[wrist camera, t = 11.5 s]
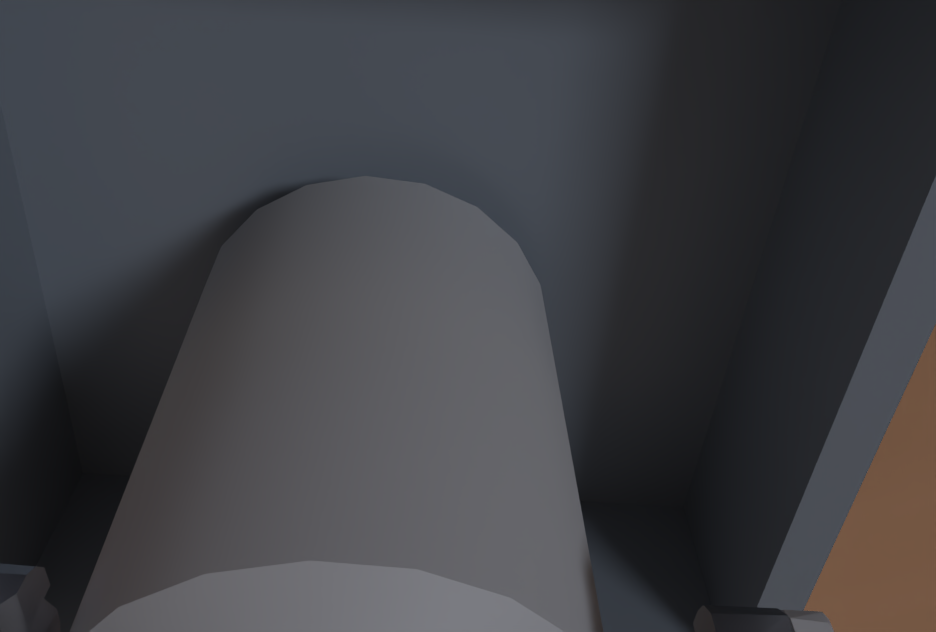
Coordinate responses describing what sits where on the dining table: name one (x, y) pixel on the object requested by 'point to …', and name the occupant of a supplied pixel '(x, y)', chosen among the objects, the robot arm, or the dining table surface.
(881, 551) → the dining table surface
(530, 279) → the can
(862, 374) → the bin
